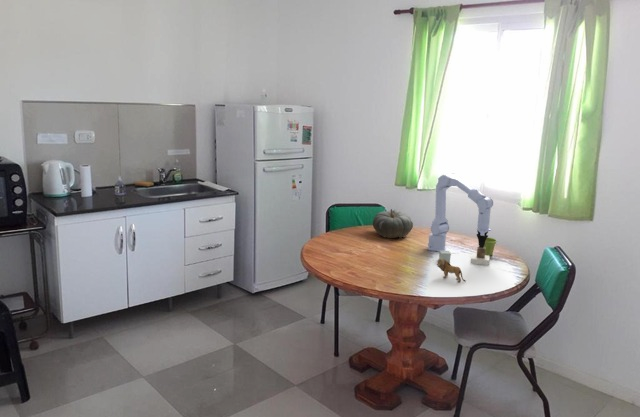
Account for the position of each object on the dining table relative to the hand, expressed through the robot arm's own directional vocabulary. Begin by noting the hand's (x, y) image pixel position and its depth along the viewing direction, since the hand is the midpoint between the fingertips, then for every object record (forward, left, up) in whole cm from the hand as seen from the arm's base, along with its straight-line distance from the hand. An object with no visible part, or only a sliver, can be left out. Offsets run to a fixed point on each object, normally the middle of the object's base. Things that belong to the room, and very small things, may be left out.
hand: (481, 245), depth 260 cm
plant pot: (+3, +14, -9) cm, 17 cm away
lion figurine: (-13, -33, -9) cm, 37 cm away
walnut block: (0, 0, -6) cm, 6 cm away
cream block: (0, 0, -9) cm, 9 cm away
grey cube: (-18, -6, -9) cm, 21 cm away
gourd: (-53, +34, -9) cm, 64 cm away
